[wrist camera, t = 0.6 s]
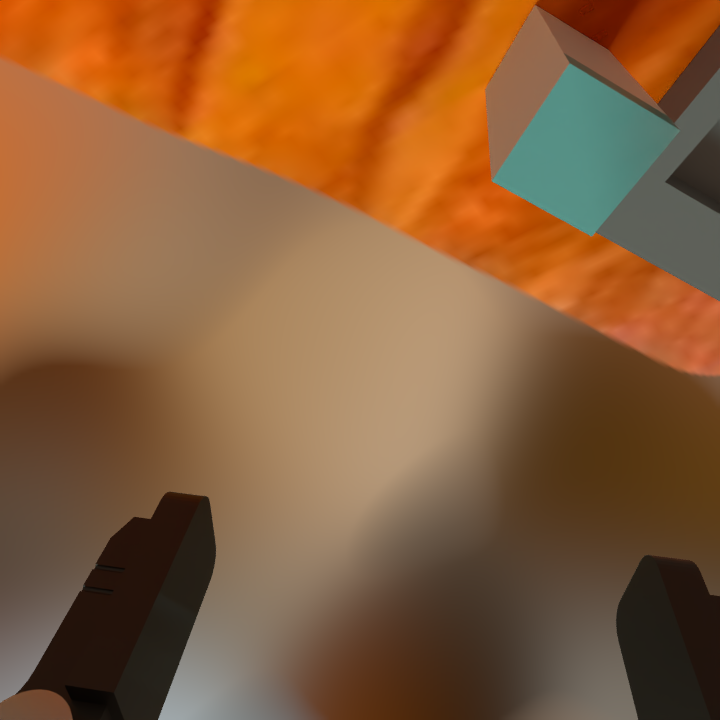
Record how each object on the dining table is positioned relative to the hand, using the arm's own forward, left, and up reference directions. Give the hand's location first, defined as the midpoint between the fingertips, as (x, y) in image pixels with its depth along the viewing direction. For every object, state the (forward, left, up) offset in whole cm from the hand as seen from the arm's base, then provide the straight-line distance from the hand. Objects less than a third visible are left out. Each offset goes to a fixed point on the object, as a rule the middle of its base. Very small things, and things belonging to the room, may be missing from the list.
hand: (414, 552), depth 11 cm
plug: (-5, +2, -25) cm, 25 cm away
